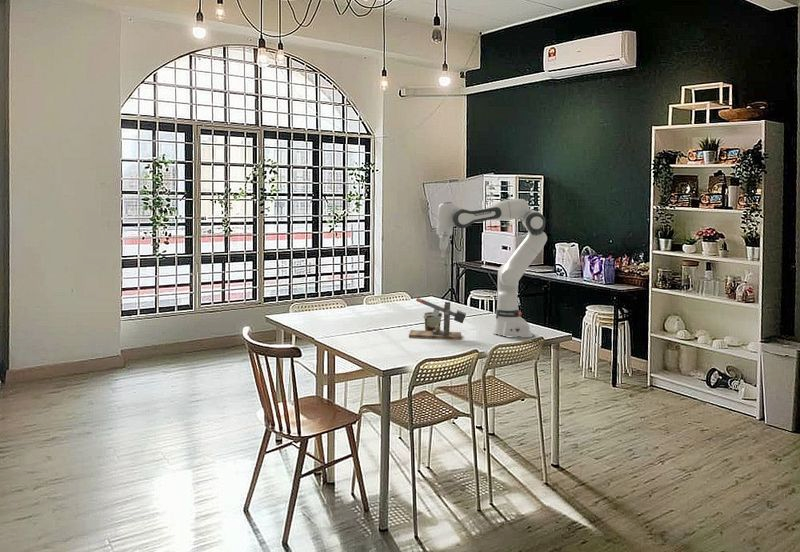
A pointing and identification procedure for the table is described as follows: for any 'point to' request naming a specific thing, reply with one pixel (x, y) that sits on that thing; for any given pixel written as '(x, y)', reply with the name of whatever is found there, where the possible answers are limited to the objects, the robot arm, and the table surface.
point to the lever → (458, 315)
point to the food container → (431, 321)
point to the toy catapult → (438, 329)
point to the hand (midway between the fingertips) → (443, 256)
